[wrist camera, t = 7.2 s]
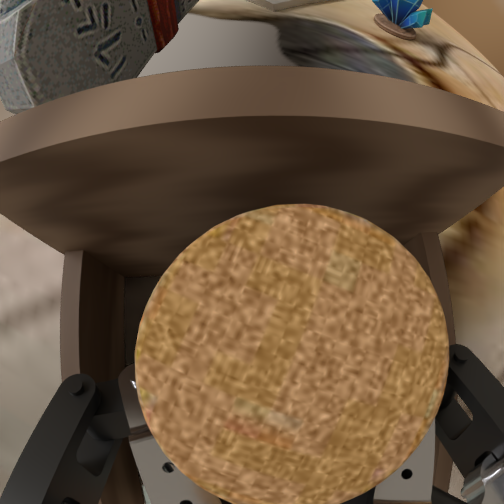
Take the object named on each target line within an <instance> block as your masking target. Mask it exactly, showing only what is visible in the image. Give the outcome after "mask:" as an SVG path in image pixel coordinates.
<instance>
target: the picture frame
mask: <svg viewBox="0 0 504 504" xmlns="http://www.w3.org/2000/svg"><path fill="white" fill-rule="evenodd" d="M246 1H249V2H252V3H254V4H257V5H259V6H262V7H264V8H266V9H269V10H271V11H273V12H274V11H278V10H282V9H286V8H291V7H295V6H300V5H305V4H311V3H316V2H322V1H329V0H246Z"/></svg>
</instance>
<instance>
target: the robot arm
mask: <svg viewBox="0 0 504 504" xmlns="http://www.w3.org/2000/svg"><path fill="white" fill-rule="evenodd" d="M457 394H458V395H459V396H460V397H461V399H462V400H463V401H464V403H465V404H466V405H467V406H468V408H469V409H470V410H471V412H472V415H473V420H472V421H471V419H470V418H469V417H468V415H467V414H466V413H465V411H464V410H463V409H462V407H461V406H460V405H459V404H458V402H457V401H456V400H455V396H456V395H457ZM435 434H436V436H437V437H438V438H439V440H440V441H441V443H442V445H443V446H444V448H445V449H446V451H447V452H448V454H449V455H450V457H451V458H452V460H453V461H454V463H455V464H456V466H457V468H458V469H459V471H460V472H461V474H462V475H463V477H464V479H465V480H464V485H463V486H464V487H463V488H462V489H461V496H462V497H463V498H467V503H466V502H464V501H462V500H460V499H458V498H456V497H454V496H452V495H450V494H448V493H447V492H445V491H443V490H441V489H439V488H437V487H436V486H434V485H432V484H433V472H434V455H435ZM125 437H128V438H129V443H130V446H131V449H132V452H133V456H134V459H135V462H136V465H137V467H138V470H139V473H140V476H141V479H142V481H143V484H144V487H145V489H146V492H147V494H148V497H149V499H150V502H151V504H233V503H230V502H228V501H226V500H224V499H221V498H219V497H217V496H215V495H213V494H211V493H209V492H208V491H206V490H204V489H202V488H201V487H199V486H198V485H197V484H195V483H194V482H193V481H192V480H190V479H189V478H188V477H187V476H185V475H184V474H183V473H182V472H181V471H180V470H179V469H178V468H177V467H176V466H175V465H174V464H173V463H172V462H171V460H170V459H169V458H168V457H167V456H166V455H165V454H164V452H163V451H162V449H161V448H160V446H159V445H158V443H157V441H156V440H155V438H154V436H153V435H152V433H151V431H150V429H149V427H148V425H147V423H146V421H145V418H144V415H143V412H142V408H141V405H140V402H139V399H138V393H137V386H136V379H135V360H134V363H133V364H131V365H129V366H127V367H126V368H125V369H124V370H123V371H122V372H121V373H120V375H119V378H117V379H114V380H110V381H105V382H99V383H95V382H94V380H93V379H92V378H91V377H90V376H89V375H86V374H74V375H71V376H69V377H68V378H66V379H65V380H64V381H63V382H62V384H61V385H60V387H59V388H58V390H57V392H56V393H55V395H54V397H53V398H52V400H51V402H50V403H49V405H48V407H47V408H46V410H45V412H44V414H43V415H42V417H41V419H40V421H39V422H38V424H37V426H36V428H35V429H34V431H33V433H32V435H31V437H30V439H29V440H28V442H27V444H26V446H25V448H24V450H23V452H22V454H21V456H20V458H19V460H18V462H17V464H16V466H15V468H14V470H13V472H12V474H11V476H10V478H9V480H8V482H7V485H6V487H5V489H4V491H3V494H2V496H1V498H0V504H98V503H99V500H100V497H101V495H102V492H103V489H104V487H105V484H106V481H107V479H108V476H109V473H110V471H111V468H112V465H113V463H114V460H115V458H116V455H117V453H118V450H119V448H120V445H121V443H122V440H123V438H125ZM340 504H504V387H503V386H502V385H501V384H500V382H499V381H498V380H497V379H496V378H495V377H494V376H493V374H492V373H491V372H490V371H489V370H488V369H487V368H486V367H485V366H484V364H483V363H482V362H481V361H480V360H479V359H478V358H477V357H476V356H475V355H474V354H473V353H472V351H470V350H469V349H468V348H467V347H465V346H462V345H458V344H453V345H450V346H449V367H448V376H447V381H446V386H445V390H444V395H443V398H442V401H441V404H440V407H439V410H438V412H437V414H436V416H435V418H434V420H433V422H432V424H431V426H430V428H429V430H428V431H427V433H426V435H425V436H424V438H423V440H422V441H421V443H420V445H419V446H418V447H417V448H416V450H415V451H414V452H413V453H412V454H411V456H410V457H409V458H408V459H407V460H406V461H405V462H404V463H403V465H402V466H401V467H399V468H398V469H397V470H396V471H395V472H394V473H393V474H392V475H390V476H389V477H388V478H387V479H386V480H384V481H383V482H381V483H379V484H378V485H376V486H375V487H373V488H372V489H370V490H368V491H367V492H365V493H363V494H362V495H359V496H357V497H355V498H352V499H350V500H348V501H345V502H343V503H340Z"/></svg>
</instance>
